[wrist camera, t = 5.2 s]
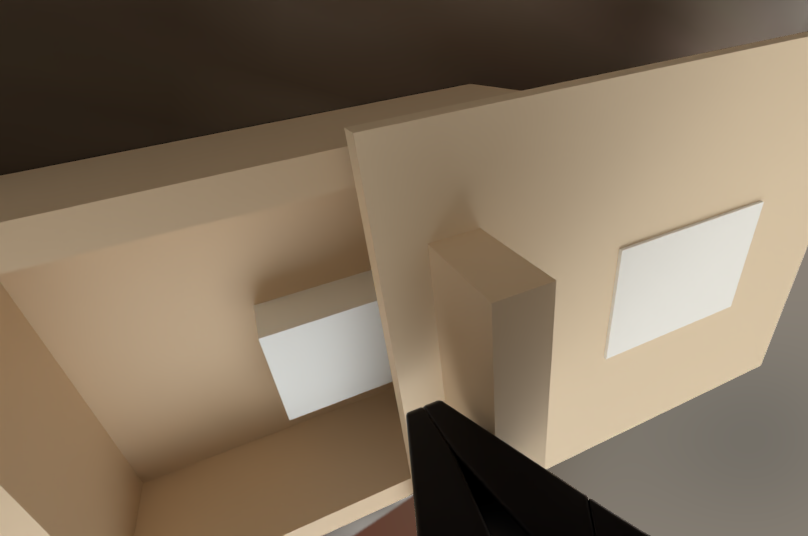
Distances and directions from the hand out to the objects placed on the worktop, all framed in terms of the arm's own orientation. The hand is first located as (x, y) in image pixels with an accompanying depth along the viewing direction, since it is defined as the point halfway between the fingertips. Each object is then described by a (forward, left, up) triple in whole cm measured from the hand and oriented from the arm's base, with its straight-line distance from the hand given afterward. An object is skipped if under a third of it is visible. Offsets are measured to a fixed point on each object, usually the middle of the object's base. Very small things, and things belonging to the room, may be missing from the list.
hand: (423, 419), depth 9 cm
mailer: (-2, 0, -6) cm, 7 cm away
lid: (+7, 0, -2) cm, 7 cm away
